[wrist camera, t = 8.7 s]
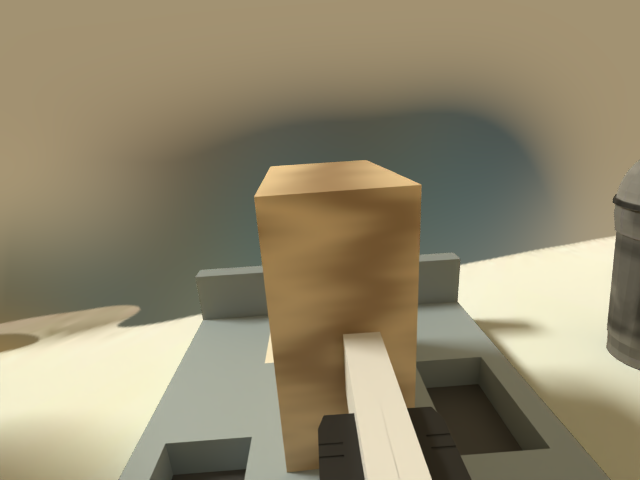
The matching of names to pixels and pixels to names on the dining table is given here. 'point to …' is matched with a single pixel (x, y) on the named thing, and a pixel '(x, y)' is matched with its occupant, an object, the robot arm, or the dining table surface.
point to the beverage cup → (626, 273)
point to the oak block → (335, 284)
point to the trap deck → (263, 407)
